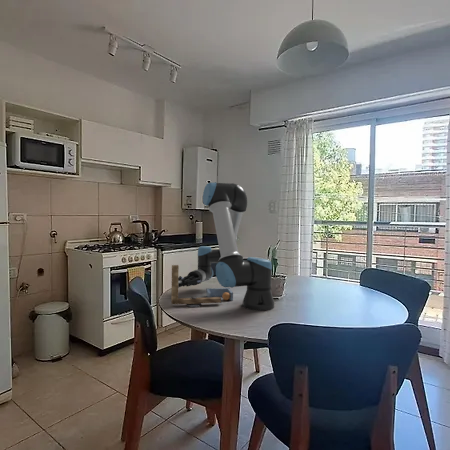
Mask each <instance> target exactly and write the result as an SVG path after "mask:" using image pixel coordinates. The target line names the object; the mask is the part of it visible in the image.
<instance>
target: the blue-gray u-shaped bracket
mask: <svg viewBox="0 0 450 450" xmlns="http://www.w3.org/2000/svg"><path fill="white" fill-rule="evenodd" d="M205 290H206V292H205V293H206V294H205V295H206V297H222V295H223V293H225V292H228V293H229V294H230V298H229V301H233V300H234V292H233V291H232V289H231V287H223V288H222V287H217V288H216V287H215V288H212V287H211V288H206V289H205ZM206 297H205V298H206Z"/></svg>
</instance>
